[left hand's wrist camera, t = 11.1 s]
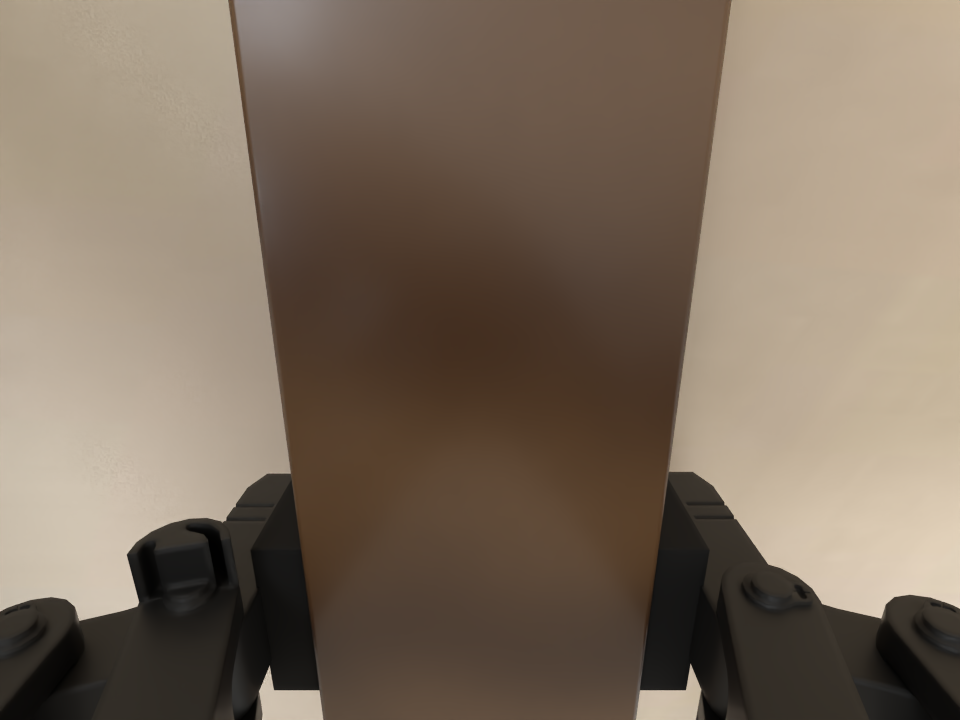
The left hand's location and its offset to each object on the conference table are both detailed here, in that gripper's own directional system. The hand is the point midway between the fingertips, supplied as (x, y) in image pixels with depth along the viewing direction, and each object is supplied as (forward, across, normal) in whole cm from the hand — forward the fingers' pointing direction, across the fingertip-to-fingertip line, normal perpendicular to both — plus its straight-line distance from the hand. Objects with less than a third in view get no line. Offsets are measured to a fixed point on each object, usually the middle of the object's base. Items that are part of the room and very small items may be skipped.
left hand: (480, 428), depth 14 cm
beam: (+1, 0, -32) cm, 33 cm away
